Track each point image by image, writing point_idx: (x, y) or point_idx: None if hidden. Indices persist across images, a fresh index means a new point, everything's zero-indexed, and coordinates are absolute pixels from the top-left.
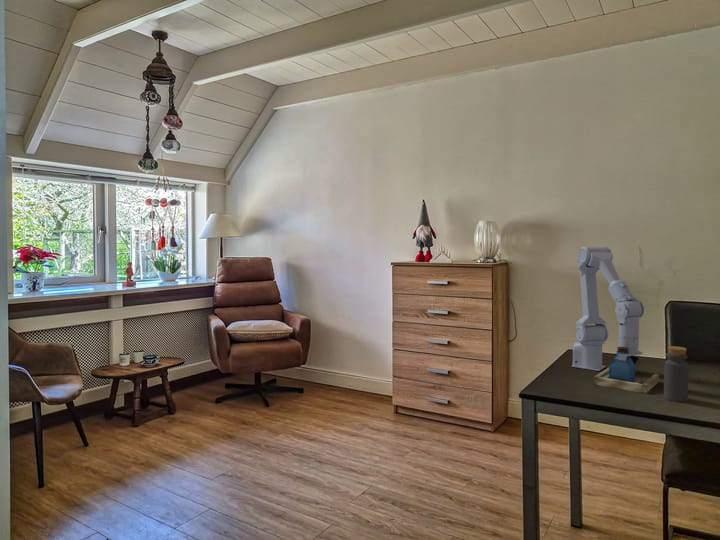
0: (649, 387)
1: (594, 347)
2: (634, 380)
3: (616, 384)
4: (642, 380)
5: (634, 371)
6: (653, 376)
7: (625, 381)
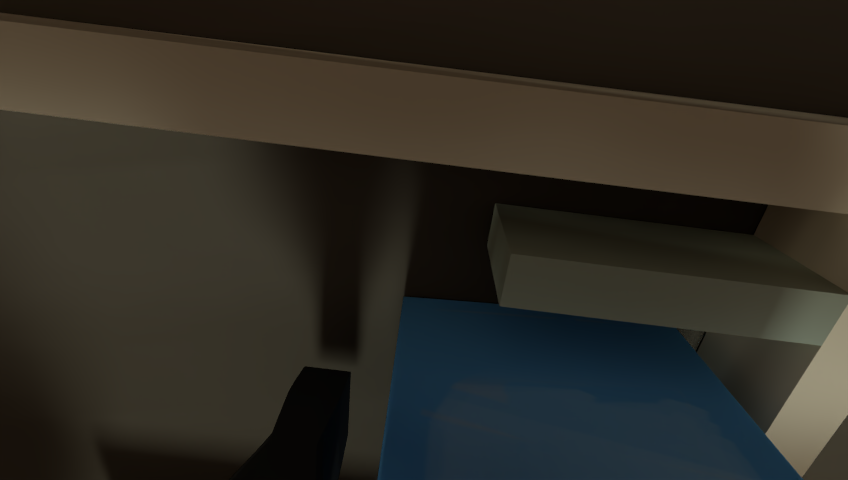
0: (695, 101)
1: None
2: (426, 335)
3: None
4: (521, 248)
5: (448, 471)
6: (83, 91)
7: None
